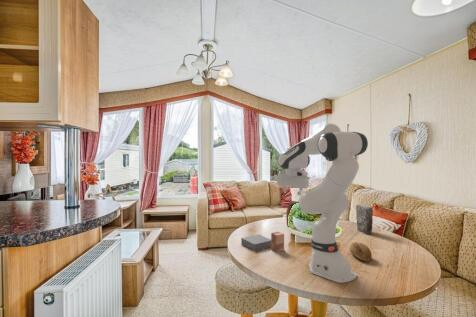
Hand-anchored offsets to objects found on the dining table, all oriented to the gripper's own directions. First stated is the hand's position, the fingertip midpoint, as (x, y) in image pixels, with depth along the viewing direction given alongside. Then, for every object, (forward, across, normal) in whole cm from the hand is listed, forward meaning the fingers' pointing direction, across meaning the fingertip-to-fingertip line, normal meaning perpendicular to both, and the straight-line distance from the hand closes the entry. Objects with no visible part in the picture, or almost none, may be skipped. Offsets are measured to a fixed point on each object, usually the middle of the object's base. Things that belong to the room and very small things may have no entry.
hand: (292, 193), depth 159 cm
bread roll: (+32, +39, +6) cm, 51 cm away
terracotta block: (+33, -3, -12) cm, 35 cm away
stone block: (+35, +32, +60) cm, 77 cm away
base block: (+33, -17, -13) cm, 40 cm away
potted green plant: (+36, -18, +43) cm, 59 cm away
